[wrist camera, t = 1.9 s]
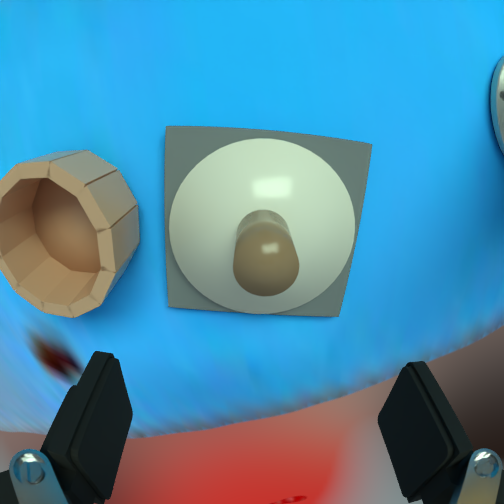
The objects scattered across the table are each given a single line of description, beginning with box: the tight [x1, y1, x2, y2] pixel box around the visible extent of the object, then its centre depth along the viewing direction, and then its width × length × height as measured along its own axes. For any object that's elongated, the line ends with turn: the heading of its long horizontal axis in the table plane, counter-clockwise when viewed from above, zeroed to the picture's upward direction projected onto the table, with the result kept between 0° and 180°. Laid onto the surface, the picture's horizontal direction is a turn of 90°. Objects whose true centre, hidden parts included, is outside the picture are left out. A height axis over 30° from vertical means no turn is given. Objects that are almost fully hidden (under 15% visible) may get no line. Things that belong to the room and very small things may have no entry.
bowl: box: [0, 150, 140, 318], centre depth 20 cm, size 11×11×6 cm
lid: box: [169, 138, 355, 314], centre depth 20 cm, size 13×13×6 cm
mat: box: [165, 126, 372, 317], centre depth 23 cm, size 14×14×1 cm
